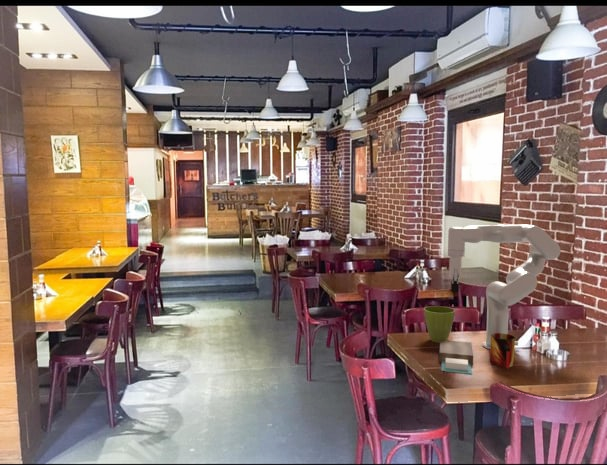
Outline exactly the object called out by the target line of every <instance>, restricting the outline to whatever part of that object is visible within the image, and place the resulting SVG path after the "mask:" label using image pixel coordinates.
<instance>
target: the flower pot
mask: <svg viewBox="0 0 607 465" xmlns="http://www.w3.org/2000/svg"><path fill="white" fill-rule="evenodd" d="M423 311H424V312H423V313H424V314H423V315H424V319H425V325H426V329H427V333H428V336H429V338H430V341H431V342H433V343H437V344H438V343H439V344H440V340H448V338H449V336H450V334H451V330H452V327H453V323H454V318H455V313H456V310H455V309H454V308H452V307H448V306H440V305H439V306H438V305H430V306H425V307H424V308H423Z"/></svg>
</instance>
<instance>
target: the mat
mask: <svg viewBox="0 0 607 465" xmlns="http://www.w3.org/2000/svg"><path fill="white" fill-rule="evenodd" d="M445 364H446V362H445V361H442V362H441V365H440V366H441V368H440V372H443V371H445V373H453V372H455V373H454V374H462V373H464V375H473V372H472V365H471V364H468V370H459V369H449V368H445Z"/></svg>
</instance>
